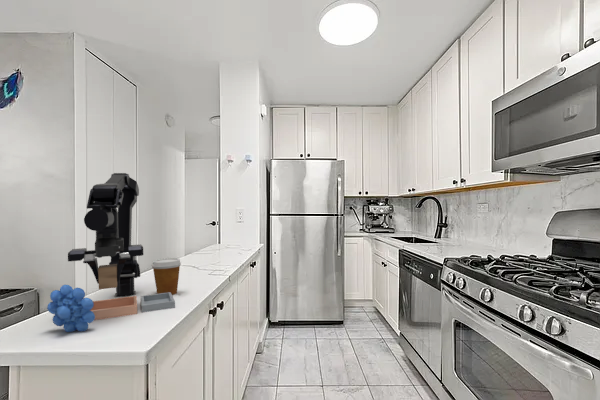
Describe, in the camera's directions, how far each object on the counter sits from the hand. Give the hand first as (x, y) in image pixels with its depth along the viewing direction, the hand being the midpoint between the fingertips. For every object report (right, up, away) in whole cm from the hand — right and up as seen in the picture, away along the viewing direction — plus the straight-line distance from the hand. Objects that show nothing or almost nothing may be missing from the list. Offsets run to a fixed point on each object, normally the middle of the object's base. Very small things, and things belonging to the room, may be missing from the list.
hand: (108, 282), depth 102 cm
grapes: (-1, -9, -15) cm, 18 cm away
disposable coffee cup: (+9, -9, +20) cm, 24 cm away
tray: (+11, -9, +7) cm, 16 cm away
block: (0, -1, 0) cm, 1 cm away
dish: (0, -9, 0) cm, 9 cm away
